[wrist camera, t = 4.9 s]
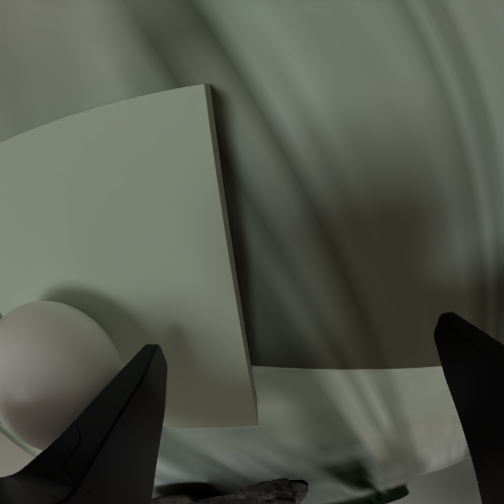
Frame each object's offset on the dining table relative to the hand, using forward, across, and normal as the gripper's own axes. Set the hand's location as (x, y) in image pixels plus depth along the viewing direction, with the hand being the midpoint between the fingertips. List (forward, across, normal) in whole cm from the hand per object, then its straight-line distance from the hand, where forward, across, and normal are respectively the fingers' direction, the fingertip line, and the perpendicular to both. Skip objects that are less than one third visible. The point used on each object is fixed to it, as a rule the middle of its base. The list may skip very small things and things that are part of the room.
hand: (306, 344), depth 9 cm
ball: (-1, +8, 0) cm, 8 cm away
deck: (+3, +11, 0) cm, 11 cm away
